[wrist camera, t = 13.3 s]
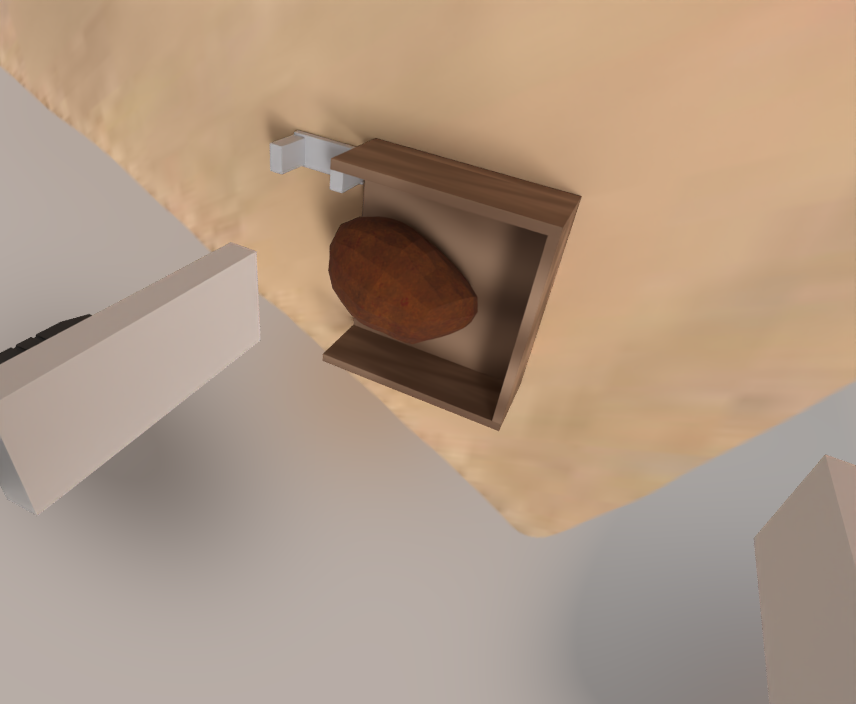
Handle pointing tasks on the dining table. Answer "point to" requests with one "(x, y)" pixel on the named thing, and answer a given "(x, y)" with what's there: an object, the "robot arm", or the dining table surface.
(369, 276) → the potato
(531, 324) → the holder
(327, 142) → the clip
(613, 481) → the dining table surface
